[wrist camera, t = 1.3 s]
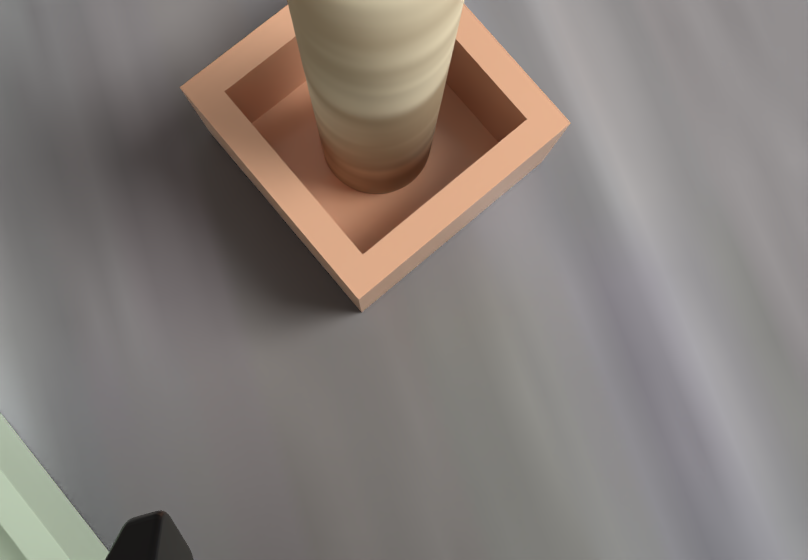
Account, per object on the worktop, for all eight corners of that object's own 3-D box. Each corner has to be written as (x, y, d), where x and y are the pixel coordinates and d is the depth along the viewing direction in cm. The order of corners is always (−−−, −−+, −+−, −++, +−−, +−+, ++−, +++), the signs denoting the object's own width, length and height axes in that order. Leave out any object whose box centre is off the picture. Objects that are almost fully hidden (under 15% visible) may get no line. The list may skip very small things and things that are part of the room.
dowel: (453, 148, 22) (557, -175, 9) (369, 216, 22) (357, -22, 9) (383, 68, 22) (389, -355, 10) (299, 134, 22) (189, -213, 9)
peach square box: (541, 162, 23) (570, 123, 19) (361, 312, 22) (358, 299, 19) (390, -8, 23) (393, -76, 20) (210, 132, 23) (179, 87, 19)
